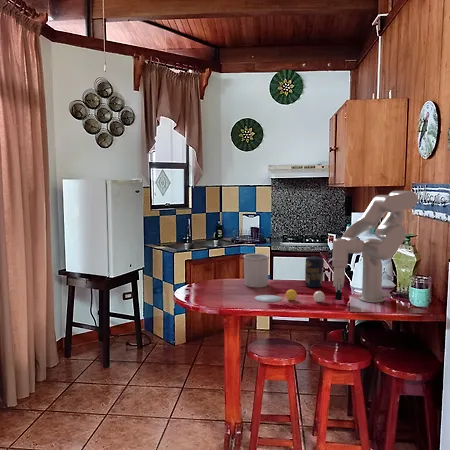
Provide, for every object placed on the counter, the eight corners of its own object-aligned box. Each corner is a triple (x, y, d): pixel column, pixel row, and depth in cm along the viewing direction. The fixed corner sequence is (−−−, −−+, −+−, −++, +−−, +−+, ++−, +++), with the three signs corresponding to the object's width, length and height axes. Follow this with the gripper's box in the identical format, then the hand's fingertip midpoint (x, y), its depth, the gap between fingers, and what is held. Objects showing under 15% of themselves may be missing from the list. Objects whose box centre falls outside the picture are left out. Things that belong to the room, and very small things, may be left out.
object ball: (297, 299, 234) (297, 288, 234) (296, 302, 229) (296, 291, 228) (286, 298, 236) (286, 287, 235) (285, 301, 230) (285, 290, 230)
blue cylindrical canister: (301, 285, 264) (302, 255, 262) (315, 283, 268) (315, 253, 266) (311, 289, 255) (312, 257, 254) (325, 287, 259) (325, 256, 257)
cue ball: (324, 300, 231) (325, 290, 230) (324, 303, 225) (324, 292, 225) (313, 300, 232) (313, 289, 231) (312, 303, 227) (313, 292, 226)
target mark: (283, 296, 240) (283, 295, 240) (279, 303, 227) (279, 302, 227) (257, 294, 244) (257, 294, 244) (252, 301, 230) (252, 300, 230)
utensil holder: (267, 288, 258) (267, 258, 256) (241, 287, 261) (241, 257, 259) (270, 282, 272) (270, 253, 270) (245, 281, 275) (245, 253, 273)
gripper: (332, 260, 232) (331, 295, 234) (331, 265, 218) (330, 302, 219) (347, 261, 230) (346, 296, 232) (347, 266, 216) (346, 304, 218)
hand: (338, 299), depth 226 cm, fingers closed
